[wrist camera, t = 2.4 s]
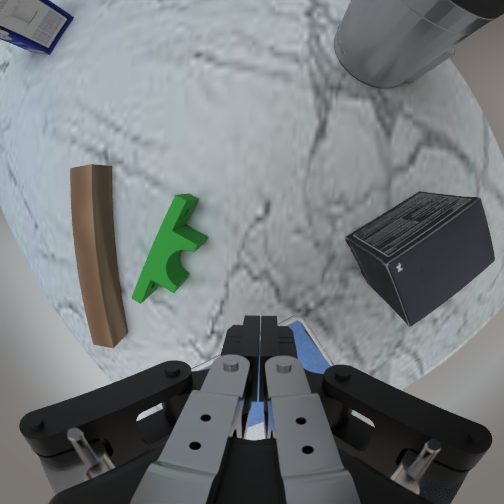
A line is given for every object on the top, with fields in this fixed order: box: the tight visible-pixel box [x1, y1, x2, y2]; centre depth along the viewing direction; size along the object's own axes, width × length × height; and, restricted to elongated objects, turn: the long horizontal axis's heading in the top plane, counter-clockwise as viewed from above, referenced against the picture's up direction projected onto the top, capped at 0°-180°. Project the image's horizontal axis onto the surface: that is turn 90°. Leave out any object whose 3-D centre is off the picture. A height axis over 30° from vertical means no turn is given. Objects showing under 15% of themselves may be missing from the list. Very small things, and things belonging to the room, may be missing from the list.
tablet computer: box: [191, 315, 334, 428], centre depth 32 cm, size 19×13×1 cm, turn 123°
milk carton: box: [0, 0, 74, 54], centre depth 13 cm, size 7×7×20 cm
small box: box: [346, 192, 495, 327], centre depth 22 cm, size 11×6×10 cm, turn 121°
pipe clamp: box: [132, 194, 207, 304], centre depth 27 cm, size 11×4×5 cm, turn 151°
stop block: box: [70, 164, 128, 348], centre depth 28 cm, size 3×20×4 cm, turn 0°
